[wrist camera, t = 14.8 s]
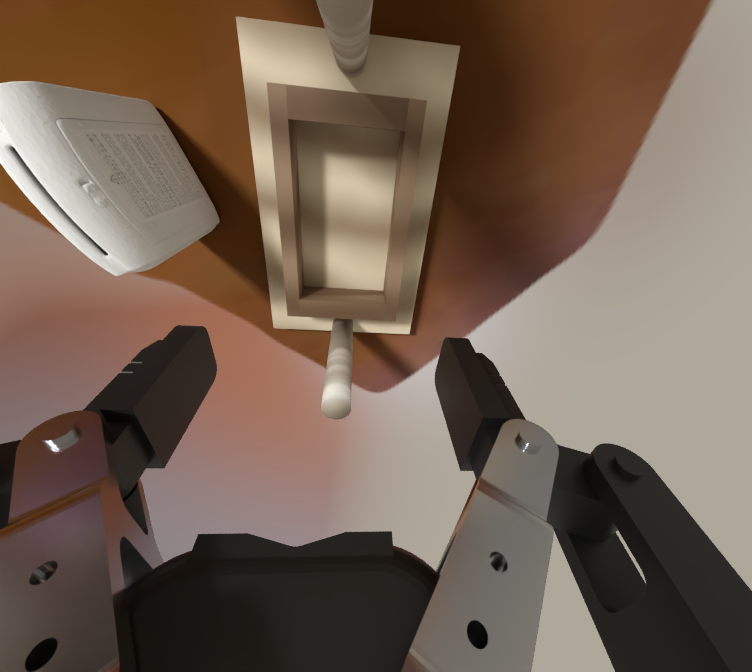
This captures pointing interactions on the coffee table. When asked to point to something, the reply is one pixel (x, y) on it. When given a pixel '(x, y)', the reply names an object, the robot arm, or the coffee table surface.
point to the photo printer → (103, 173)
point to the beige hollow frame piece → (344, 172)
